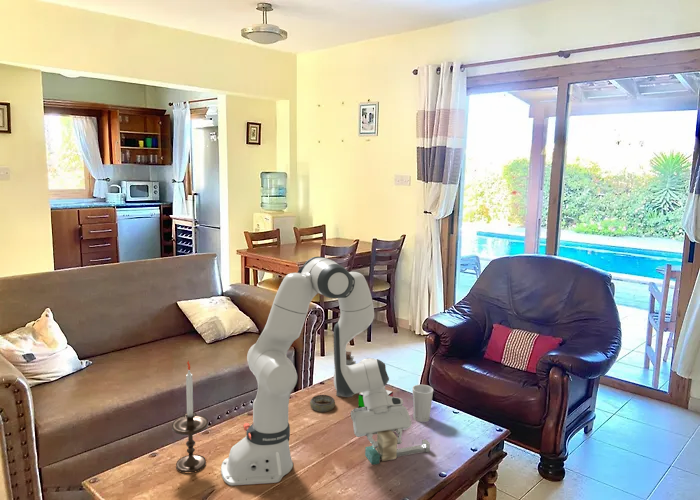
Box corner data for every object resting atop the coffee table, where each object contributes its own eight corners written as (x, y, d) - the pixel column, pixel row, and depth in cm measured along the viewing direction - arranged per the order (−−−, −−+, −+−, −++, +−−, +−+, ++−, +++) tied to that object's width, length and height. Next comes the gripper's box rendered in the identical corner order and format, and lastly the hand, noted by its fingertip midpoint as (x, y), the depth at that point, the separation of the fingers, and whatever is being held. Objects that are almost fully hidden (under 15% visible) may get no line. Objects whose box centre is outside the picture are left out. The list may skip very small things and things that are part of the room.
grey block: (336, 395, 219) (337, 355, 216) (339, 389, 225) (340, 349, 222) (352, 397, 217) (353, 356, 215) (354, 390, 224) (356, 350, 221)
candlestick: (171, 459, 169) (168, 356, 163) (206, 452, 173) (204, 352, 167) (174, 477, 159) (171, 369, 153) (211, 470, 163) (209, 365, 157)
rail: (371, 464, 169) (372, 456, 168) (365, 455, 174) (365, 446, 174) (431, 454, 176) (432, 445, 176) (423, 445, 182) (424, 437, 181)
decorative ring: (337, 403, 212) (313, 400, 214) (337, 395, 212) (314, 392, 214) (331, 414, 203) (306, 411, 205) (331, 406, 202) (307, 403, 204)
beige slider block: (382, 461, 171) (383, 439, 169) (376, 453, 175) (377, 432, 174) (396, 458, 172) (397, 437, 171) (390, 450, 177) (391, 429, 176)
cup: (431, 424, 197) (432, 394, 195) (410, 421, 198) (411, 392, 196) (432, 414, 205) (433, 385, 203) (411, 412, 206) (413, 383, 204)
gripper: (351, 405, 174) (361, 447, 167) (406, 398, 181) (418, 438, 174) (346, 412, 179) (355, 453, 172) (400, 404, 186) (411, 443, 178)
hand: (387, 445), depth 173 cm, fingers open, 7 cm apart
